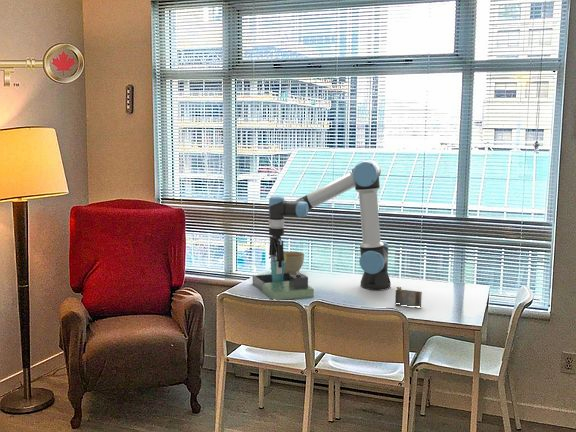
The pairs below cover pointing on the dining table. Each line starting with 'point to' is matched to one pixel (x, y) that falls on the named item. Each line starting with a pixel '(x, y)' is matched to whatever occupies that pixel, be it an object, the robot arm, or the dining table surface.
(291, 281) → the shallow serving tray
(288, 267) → the planter bowl
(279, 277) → the cup
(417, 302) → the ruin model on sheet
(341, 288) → the dining table surface
